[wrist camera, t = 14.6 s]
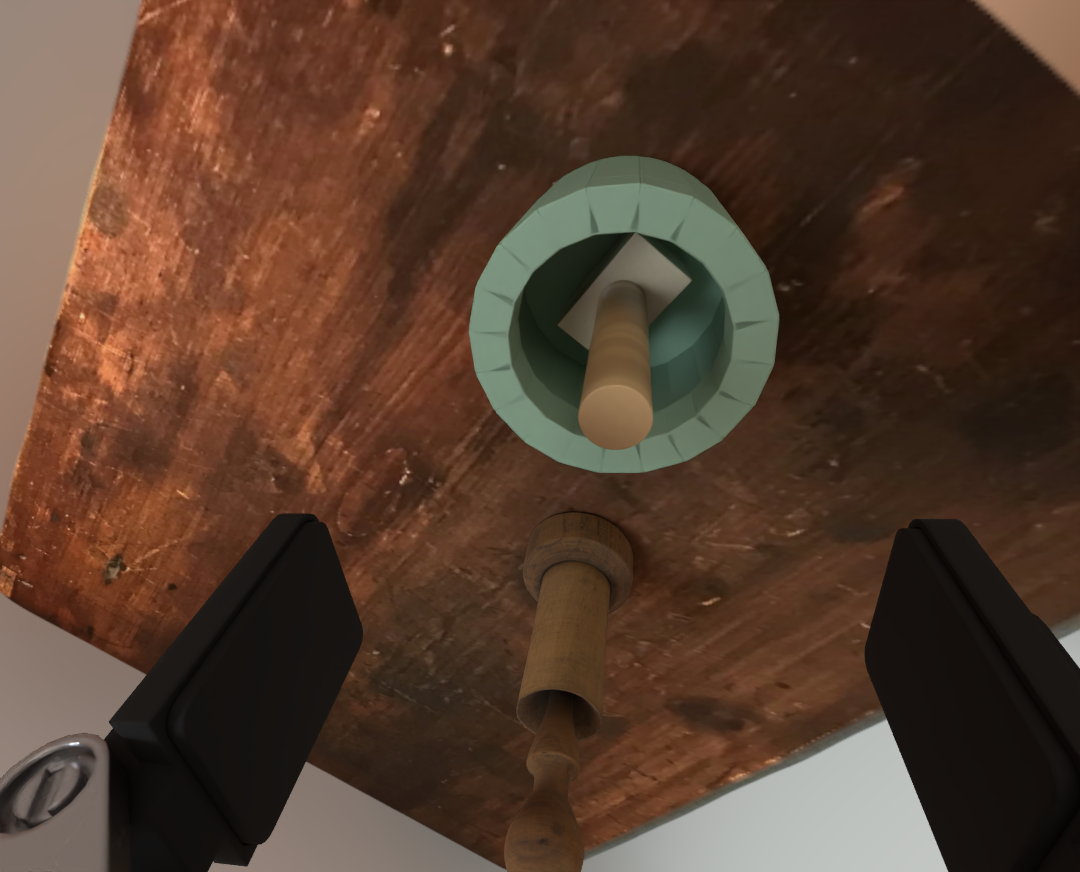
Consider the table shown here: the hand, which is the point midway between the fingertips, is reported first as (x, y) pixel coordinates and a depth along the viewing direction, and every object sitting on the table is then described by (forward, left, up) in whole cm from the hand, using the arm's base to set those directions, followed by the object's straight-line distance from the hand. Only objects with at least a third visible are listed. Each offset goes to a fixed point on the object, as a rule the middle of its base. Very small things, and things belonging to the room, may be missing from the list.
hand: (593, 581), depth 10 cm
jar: (0, 0, -20) cm, 20 cm away
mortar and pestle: (+17, -3, -21) cm, 27 cm away
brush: (0, 0, -20) cm, 20 cm away
